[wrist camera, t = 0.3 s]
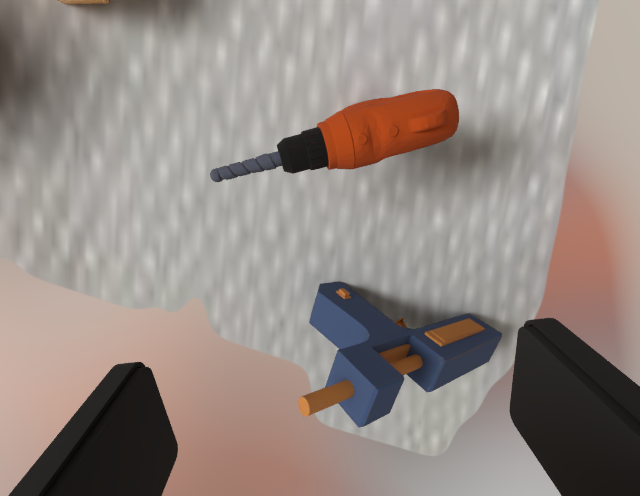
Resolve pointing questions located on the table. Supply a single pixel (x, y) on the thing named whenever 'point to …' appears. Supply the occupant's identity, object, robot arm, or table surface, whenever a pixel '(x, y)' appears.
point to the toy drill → (360, 135)
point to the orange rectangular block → (83, 1)
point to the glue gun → (388, 353)
